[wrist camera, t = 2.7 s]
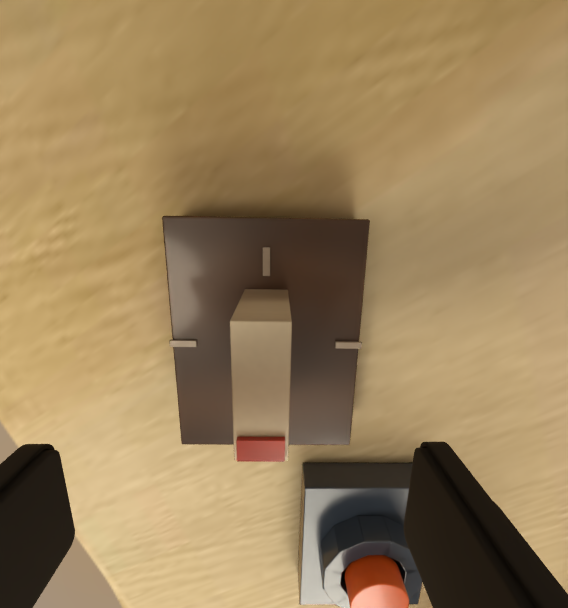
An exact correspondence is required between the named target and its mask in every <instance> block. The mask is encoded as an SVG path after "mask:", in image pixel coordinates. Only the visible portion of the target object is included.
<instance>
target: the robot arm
mask: <svg viewBox="0 0 568 608" xmlns="http://www.w3.org/2000/svg"><path fill="white" fill-rule="evenodd" d="M74 535H75V528H74V523H73V518H72V513H71V508H70V503H69V498H68V493H67V488H66V483H65V478H64V473H63V468H62V463H61V458H60V454H59V452H58V451H57V450H54V447H53V446H52V445H50V444H26V445H23V446H21V447H20V448H18V449H17V450H16V451H15V452H14V453H13V454H11V455H10V456H9V457H8V458H7V459H6V460H5V461H4V462H2V463H1V464H0V608H33V606H34V604H35V603H36V601H37V599H38V598H39V597H40V595H41V593H42V592H43V590H44V588H45V587H46V585H47V584H48V582H49V581H50V579H51V577H52V576H53V574H54V573H55V571H56V569H57V568H58V566H59V565H60V563H61V562H62V560H63V558H64V557H65V555H66V554H67V552H68V550H69V549H70V547H71V545H72V542H73V539H74ZM404 535H405V539H406V542H407V545H408V548H409V550H410V552H411V555H412V557H413V560H414V562H415V565H416V567H417V569H418V572H419V574H420V577H421V579H422V582H423V584H424V586H425V589H426V591H427V594H428V596H429V599H430V601H431V604H432V606H433V608H568V594H567V593H566V592H565V590H564V589H563V588H562V586H561V585H560V584H559V583H558V581H557V580H556V579H555V578H554V576H553V575H552V574H551V572H550V571H549V570H548V569H547V567H546V566H545V565H544V564H543V562H542V561H541V560H540V558H539V557H538V556H537V555H536V553H535V552H534V551H533V550H532V548H531V547H530V546H529V545H528V543H527V542H526V541H525V539H524V538H523V537H522V536H521V534H520V533H519V532H518V531H517V529H516V528H515V527H514V525H513V524H512V523H511V522H510V520H509V519H508V518H507V517H506V515H505V514H504V513H503V511H502V510H501V509H500V508H499V507H498V506H497V505H496V504H495V502H493V501H492V500H491V498H490V497H489V496H488V494H487V493H486V492H485V491H484V489H483V488H482V487H481V485H480V484H479V483H478V482H477V480H476V479H475V478H474V477H473V475H472V474H471V473H470V471H469V470H468V469H467V468H466V466H465V465H464V464H463V462H462V461H461V460H460V459H459V457H458V456H457V455H456V453H455V452H454V451H453V450H452V448H451V447H450V446H449V445H448V444H447V443H445V442H423V443H422V444H421V446H420V448H416V449H415V452H414V458H413V465H412V472H411V479H410V485H409V492H408V499H407V506H406V513H405V519H404Z"/></svg>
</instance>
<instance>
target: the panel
mask: <svg viewBox="0 0 568 608" xmlns="http://www.w3.org/2000/svg"><path fill="white" fill-rule="evenodd" d="M162 220H163V231H164V243H165V255H166V266H167V278H168V290H169V301H170V313H171V325H172V336H173V340H170V341H169V342H170V347H173V348H174V360H175V371H176V383H177V394H178V406H179V418H180V429H181V441H182V444H234V439H233V407H232V376H231V344H230V320H231V318H232V316H233V314H234V312H235V309H236V307H237V305H238V303H239V301H240V299H241V297H242V295H243V292H244V290H245V289H272V290H288V295H289V303H290V311H291V320H292V335H291V375H290V414H289V445H349V444H350V436H351V425H352V414H353V403H354V391H355V380H356V369H357V358H358V349H361V347H362V342H359V335H360V324H361V313H362V302H363V290H364V279H365V268H366V257H367V246H368V234H369V223H370V221H369V220H368V219H322V218H266V217H211V216H163V217H162Z"/></svg>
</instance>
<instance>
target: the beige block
mask: <svg viewBox="0 0 568 608" xmlns="http://www.w3.org/2000/svg"><path fill="white" fill-rule="evenodd" d="M291 335H292V320H291V311H290V303H289V295H288V290H272V289H245V290H244V292H243V295H242V297H241V299H240V301H239V303H238V305H237V307H236V309H235V312H234V314H233V316H232V318H231V320H230V344H231V376H232V407H233V439H234V460H235V461H276V462H284V461H288V453H289V414H290V375H291Z"/></svg>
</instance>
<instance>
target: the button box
mask: <svg viewBox="0 0 568 608" xmlns="http://www.w3.org/2000/svg"><path fill="white" fill-rule="evenodd" d="M412 465H413V463H303V464H302V486H301V510H300V535H299V560H298V584H299V603H300V605H337V606H339V607H342V608H350V604H349V599H348V593H347V588H346V582H345V571H346V569H347V567H348V566H349V564H350V563H351V562H353V561H355V560H358V559H360V558H363V557H365V556H368V555H385V556H387V557H389V558H391V559H392V560H393V561H394V562H395V563H396V564H397V566H398V568H399V571H400V573H401V576H402V579H403V582H404V585H405V588H406V591H407V594H408V597H409V604H418V602H419V596H420V591H421V586H422V579H421V577H420V574H419V572H418V569H417V567H416V565H415V562H414V560H413V557H412V555H411V552H410V550H409V548H408V545H407V542H406V539H405V535H404V519H405V513H406V506H407V499H408V492H409V485H410V479H411V472H412Z"/></svg>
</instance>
